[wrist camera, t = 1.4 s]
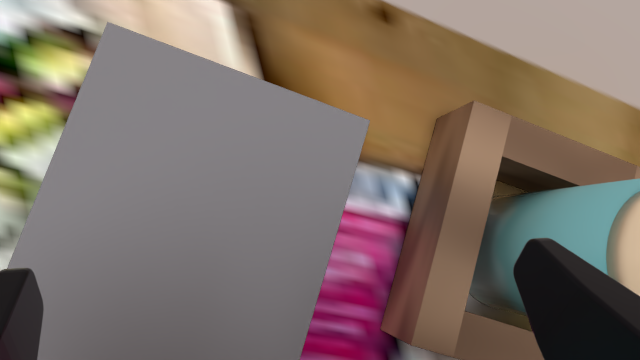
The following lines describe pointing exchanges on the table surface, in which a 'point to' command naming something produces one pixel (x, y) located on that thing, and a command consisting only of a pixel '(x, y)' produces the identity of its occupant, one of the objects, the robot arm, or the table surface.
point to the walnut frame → (476, 225)
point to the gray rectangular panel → (185, 210)
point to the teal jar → (560, 236)
